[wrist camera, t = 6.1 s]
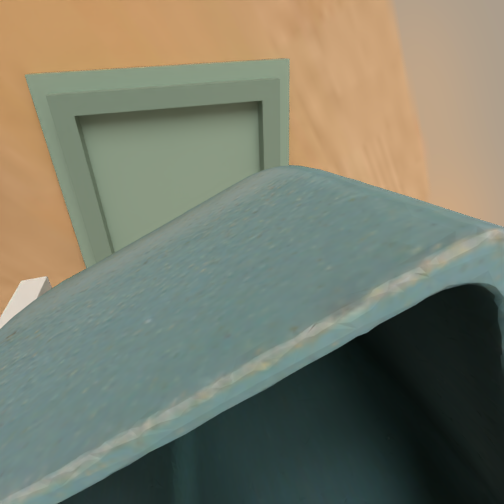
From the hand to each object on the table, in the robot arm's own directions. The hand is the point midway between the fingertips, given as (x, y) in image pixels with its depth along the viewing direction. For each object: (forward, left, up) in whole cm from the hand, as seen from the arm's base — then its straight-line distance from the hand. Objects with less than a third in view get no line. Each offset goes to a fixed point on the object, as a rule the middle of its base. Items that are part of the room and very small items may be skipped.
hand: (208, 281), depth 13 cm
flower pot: (0, 0, -1) cm, 1 cm away
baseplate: (0, -2, -16) cm, 16 cm away
